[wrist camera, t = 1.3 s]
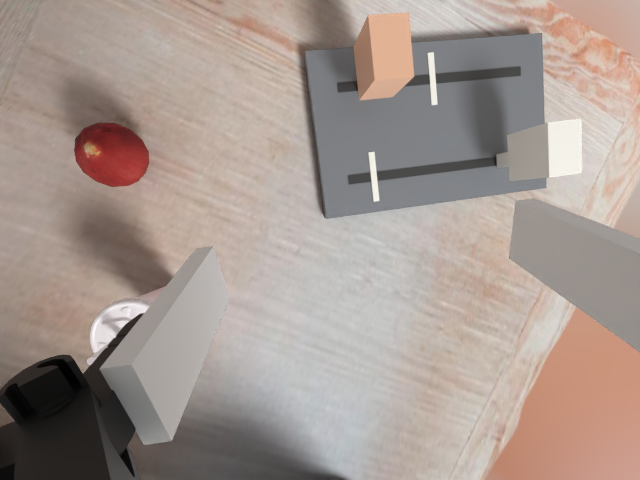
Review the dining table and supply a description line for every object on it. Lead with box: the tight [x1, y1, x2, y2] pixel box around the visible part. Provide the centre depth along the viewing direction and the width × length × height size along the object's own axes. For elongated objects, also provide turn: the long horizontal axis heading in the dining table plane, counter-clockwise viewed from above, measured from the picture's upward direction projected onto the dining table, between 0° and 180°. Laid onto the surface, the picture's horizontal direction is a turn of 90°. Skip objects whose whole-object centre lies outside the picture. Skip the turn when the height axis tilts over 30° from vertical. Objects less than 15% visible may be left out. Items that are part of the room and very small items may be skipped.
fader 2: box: [496, 119, 582, 181], centre depth 32 cm, size 5×4×8 cm
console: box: [304, 33, 546, 219], centre depth 35 cm, size 18×28×2 cm, turn 98°
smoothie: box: [87, 286, 166, 365], centre depth 28 cm, size 6×6×14 cm
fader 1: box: [353, 13, 414, 100], centre depth 29 cm, size 5×4×8 cm
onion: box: [74, 123, 149, 187], centre depth 28 cm, size 6×6×8 cm
